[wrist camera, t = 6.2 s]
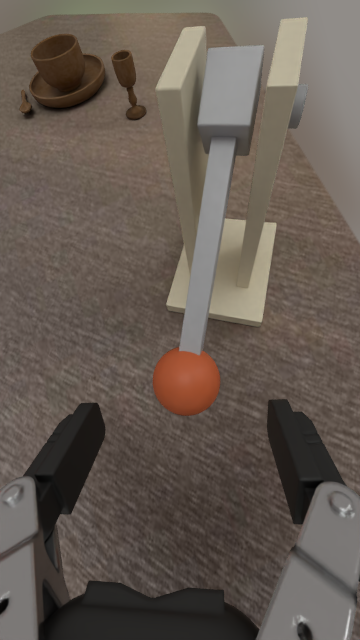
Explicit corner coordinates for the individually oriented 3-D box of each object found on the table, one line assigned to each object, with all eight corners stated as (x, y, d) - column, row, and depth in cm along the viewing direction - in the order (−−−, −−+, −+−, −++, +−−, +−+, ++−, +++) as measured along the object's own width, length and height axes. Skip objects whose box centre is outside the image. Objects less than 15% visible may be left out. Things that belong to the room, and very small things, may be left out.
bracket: (259, 327, 20) (347, 144, 7) (168, 310, 22) (90, 138, 8) (274, 232, 24) (353, -22, 10) (193, 224, 25) (167, -2, 12)
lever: (217, 403, 15) (209, 439, 11) (160, 388, 16) (138, 418, 12) (274, 100, 12) (287, 25, 8) (202, 101, 13) (187, 33, 9)
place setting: (114, 52, 41) (99, -3, 36) (152, 113, 33) (140, 54, 28) (18, 91, 41) (-13, 41, 35) (33, 161, 33) (-3, 111, 28)
